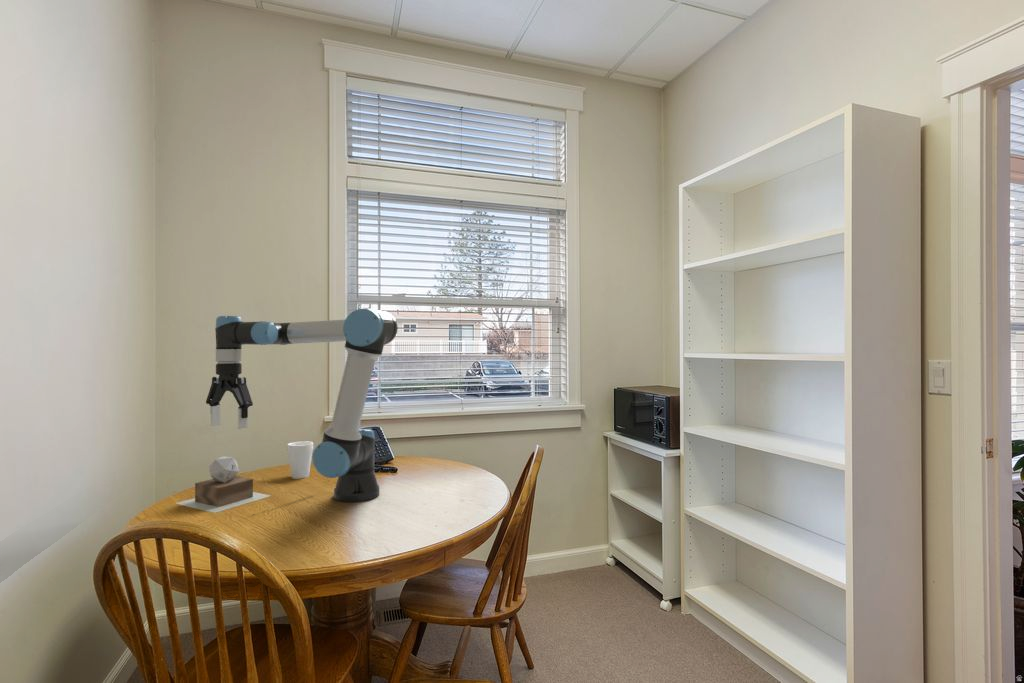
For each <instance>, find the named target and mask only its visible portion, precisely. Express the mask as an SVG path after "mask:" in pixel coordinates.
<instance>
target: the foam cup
mask: <svg viewBox="0 0 1024 683" xmlns="http://www.w3.org/2000/svg"><path fill="white" fill-rule="evenodd" d="M286 446H287V449H286V450H287V453H288V460H289V466H290V468H289V469H290V474H291V475H290V476H291V479H296V480H297V479H305V478H308V477H310V471H311V463H312V456H313V451H314V442H313V441H308V440H307V441H305V440H303V441H293V442H289V443H287V445H286Z"/></svg>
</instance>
